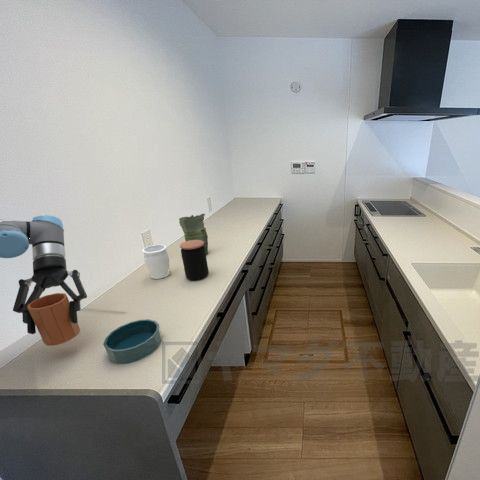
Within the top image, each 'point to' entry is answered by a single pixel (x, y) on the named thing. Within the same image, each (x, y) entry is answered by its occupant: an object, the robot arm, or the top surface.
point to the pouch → (194, 229)
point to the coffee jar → (194, 259)
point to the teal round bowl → (133, 341)
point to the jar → (157, 261)
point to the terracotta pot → (53, 319)
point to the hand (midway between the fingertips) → (53, 327)
